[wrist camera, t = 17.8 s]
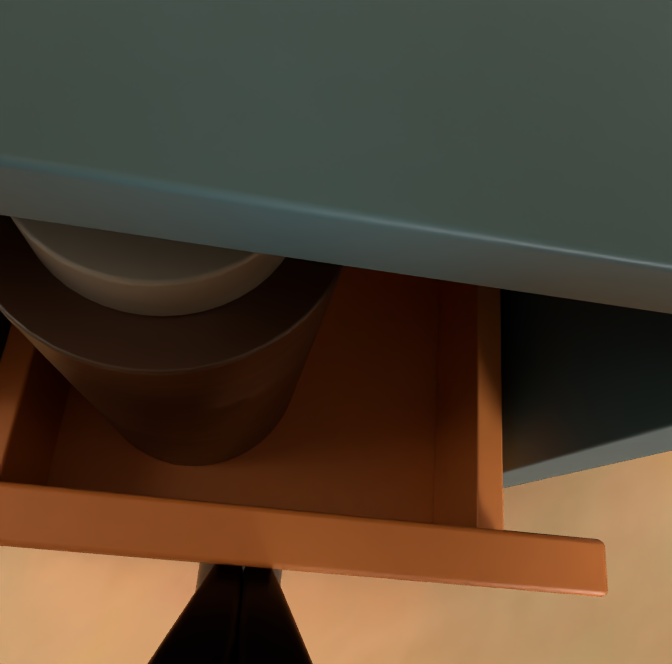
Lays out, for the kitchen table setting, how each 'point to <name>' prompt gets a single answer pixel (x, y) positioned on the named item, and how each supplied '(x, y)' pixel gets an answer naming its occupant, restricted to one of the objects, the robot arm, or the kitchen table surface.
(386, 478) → the drawer
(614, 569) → the kitchen table surface
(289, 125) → the cubby
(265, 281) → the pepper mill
